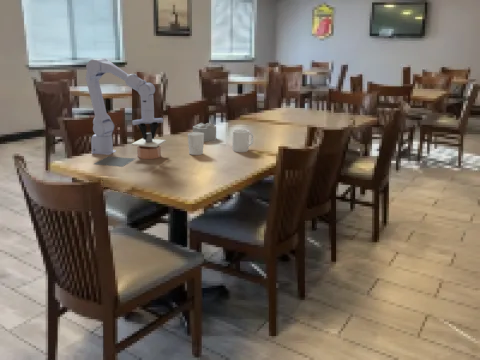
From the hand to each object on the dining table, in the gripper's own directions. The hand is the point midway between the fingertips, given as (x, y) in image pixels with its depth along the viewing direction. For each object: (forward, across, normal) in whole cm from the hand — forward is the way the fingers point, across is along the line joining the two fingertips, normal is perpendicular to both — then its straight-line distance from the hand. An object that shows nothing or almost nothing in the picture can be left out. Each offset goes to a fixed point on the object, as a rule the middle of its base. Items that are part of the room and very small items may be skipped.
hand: (148, 139), depth 211 cm
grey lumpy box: (+9, +43, +22) cm, 49 cm away
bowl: (+9, 0, 0) cm, 9 cm away
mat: (+9, -17, -1) cm, 19 cm away
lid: (+2, 0, 0) cm, 2 cm away
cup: (+9, +47, -9) cm, 49 cm away
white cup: (+9, +23, -4) cm, 25 cm away
